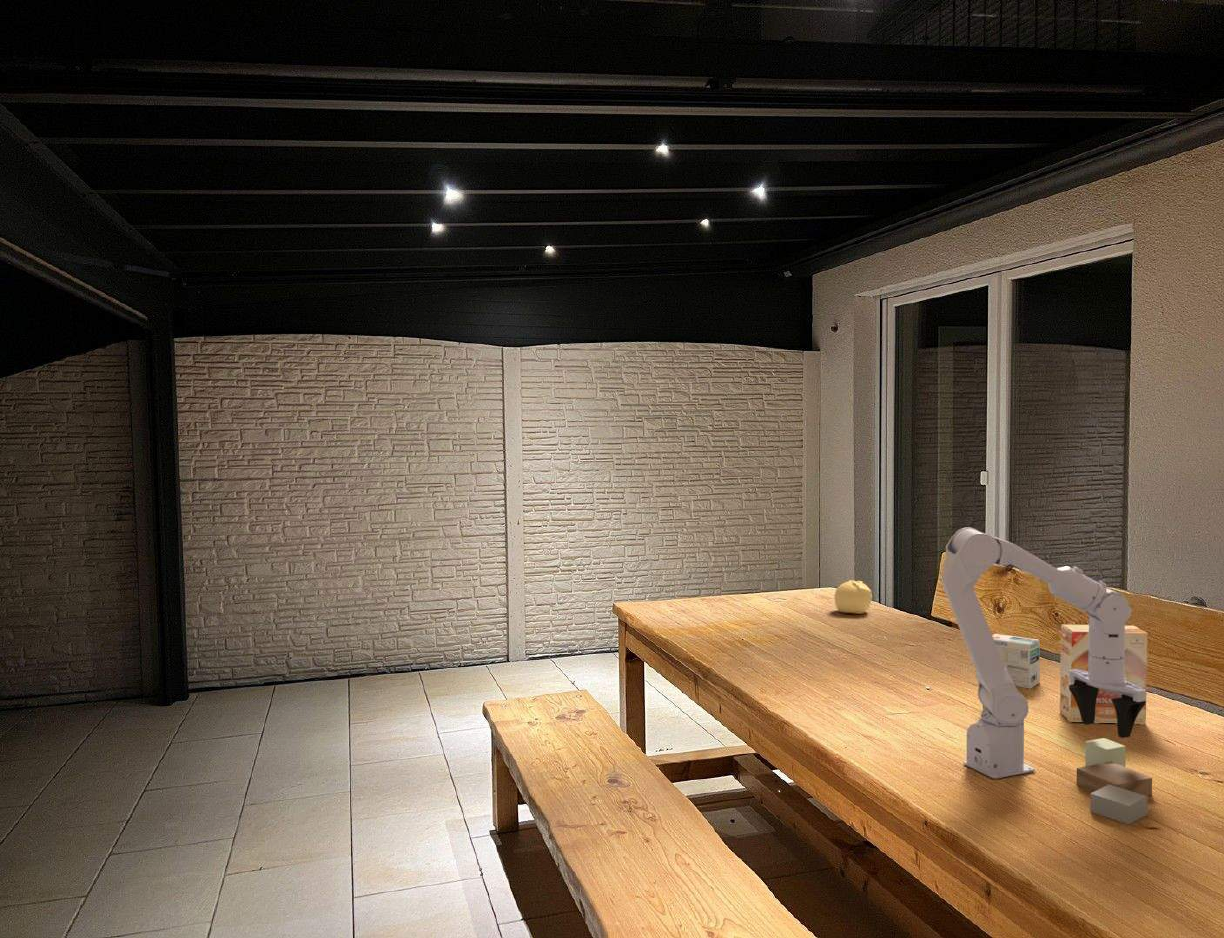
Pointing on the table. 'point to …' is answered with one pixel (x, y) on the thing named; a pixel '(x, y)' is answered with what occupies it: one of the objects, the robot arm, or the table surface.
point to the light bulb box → (1020, 659)
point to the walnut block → (1113, 778)
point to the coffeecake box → (1078, 658)
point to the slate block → (1118, 804)
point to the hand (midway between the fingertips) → (1105, 729)
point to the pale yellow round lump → (853, 597)
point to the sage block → (1104, 752)
